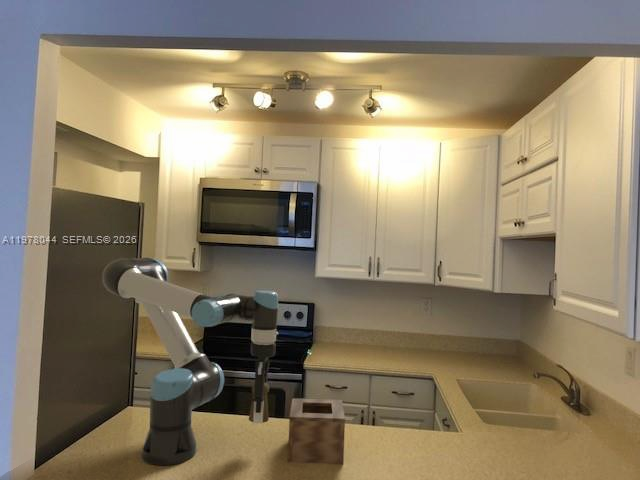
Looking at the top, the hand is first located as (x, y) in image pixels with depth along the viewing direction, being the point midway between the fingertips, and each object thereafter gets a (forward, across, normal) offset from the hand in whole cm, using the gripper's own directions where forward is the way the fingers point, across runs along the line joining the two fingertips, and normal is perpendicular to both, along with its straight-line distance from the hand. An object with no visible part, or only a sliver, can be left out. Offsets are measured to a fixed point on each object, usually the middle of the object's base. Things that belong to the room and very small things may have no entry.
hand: (259, 417), depth 138 cm
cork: (+1, 0, 0) cm, 1 cm away
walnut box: (+9, +1, -18) cm, 20 cm away
